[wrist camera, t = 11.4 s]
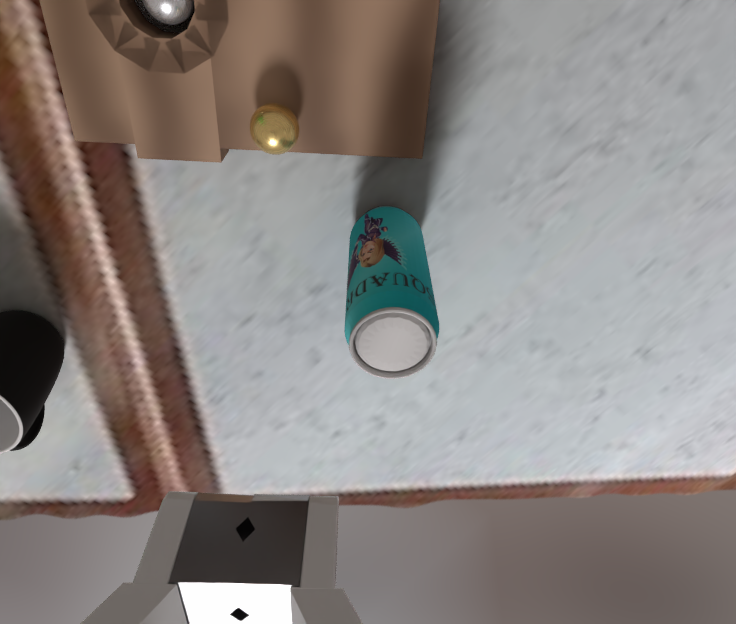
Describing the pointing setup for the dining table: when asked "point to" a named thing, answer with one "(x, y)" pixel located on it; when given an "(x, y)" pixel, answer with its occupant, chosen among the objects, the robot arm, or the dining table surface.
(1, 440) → the mug
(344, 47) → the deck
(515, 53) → the dining table surface
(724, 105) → the dining table surface
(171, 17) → the steel ball
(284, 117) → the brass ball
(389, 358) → the beverage can
